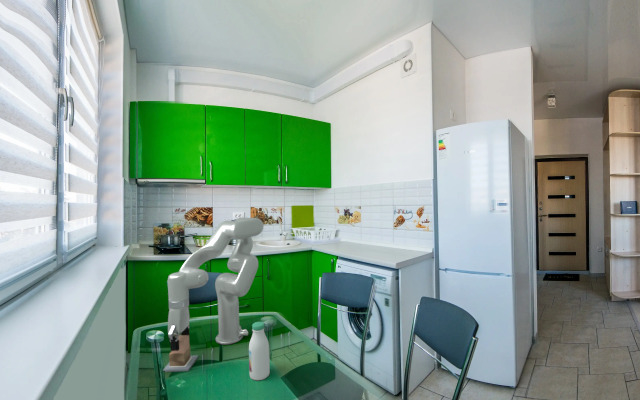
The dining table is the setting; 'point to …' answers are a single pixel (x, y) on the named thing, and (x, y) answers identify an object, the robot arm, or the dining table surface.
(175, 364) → the walnut block
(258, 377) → the milk bottle
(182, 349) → the terracotta block
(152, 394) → the dining table surface
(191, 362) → the plate
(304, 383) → the dining table surface
